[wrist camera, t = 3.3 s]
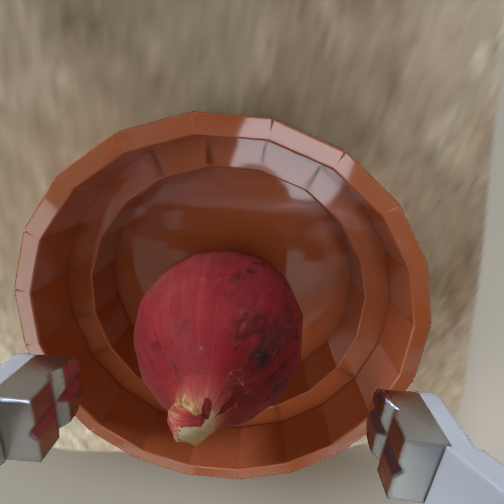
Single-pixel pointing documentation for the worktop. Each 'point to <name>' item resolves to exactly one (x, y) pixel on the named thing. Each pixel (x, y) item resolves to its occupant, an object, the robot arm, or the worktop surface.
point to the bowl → (220, 238)
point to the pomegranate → (217, 340)
